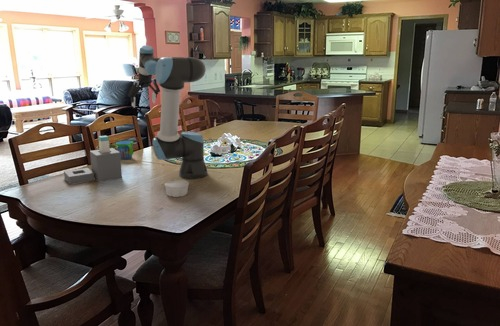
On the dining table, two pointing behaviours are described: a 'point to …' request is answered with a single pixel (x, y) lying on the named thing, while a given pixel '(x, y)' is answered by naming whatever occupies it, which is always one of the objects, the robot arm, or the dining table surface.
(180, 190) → the ramekin
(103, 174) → the block
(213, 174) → the dining table surface
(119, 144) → the snack cup
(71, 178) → the plate
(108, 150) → the plug
